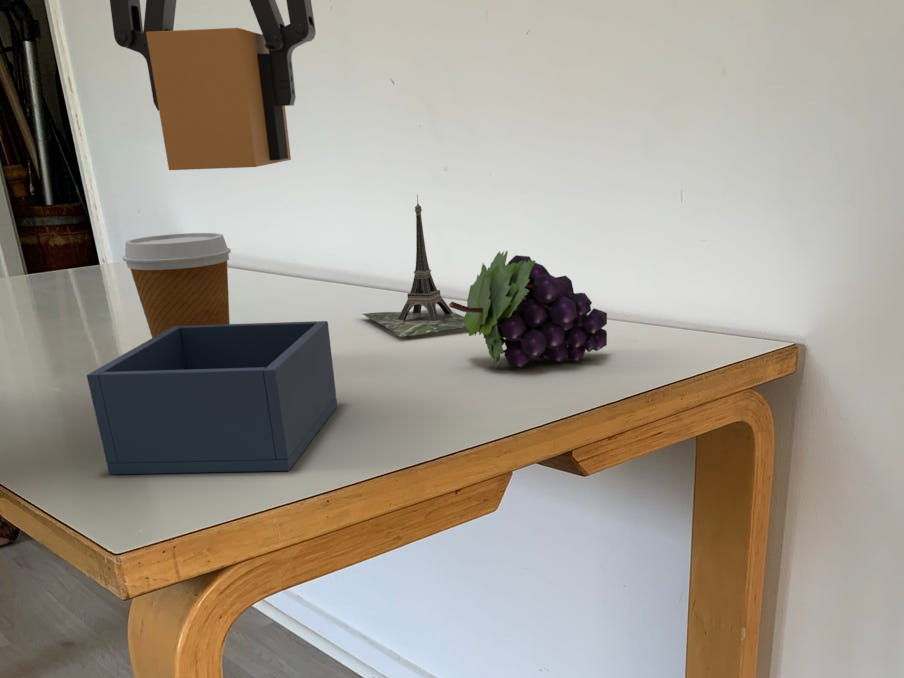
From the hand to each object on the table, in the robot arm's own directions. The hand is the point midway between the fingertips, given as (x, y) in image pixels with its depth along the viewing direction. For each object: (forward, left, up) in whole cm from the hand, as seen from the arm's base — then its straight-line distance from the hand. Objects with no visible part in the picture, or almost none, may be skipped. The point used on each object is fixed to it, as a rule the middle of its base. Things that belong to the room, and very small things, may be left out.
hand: (233, 160), depth 71 cm
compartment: (-1, -6, -18) cm, 20 cm away
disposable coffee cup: (-11, +16, -19) cm, 27 cm away
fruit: (+21, +16, -19) cm, 32 cm away
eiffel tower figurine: (+8, +37, -19) cm, 42 cm away
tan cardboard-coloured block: (0, 0, 0) cm, 0 cm away
